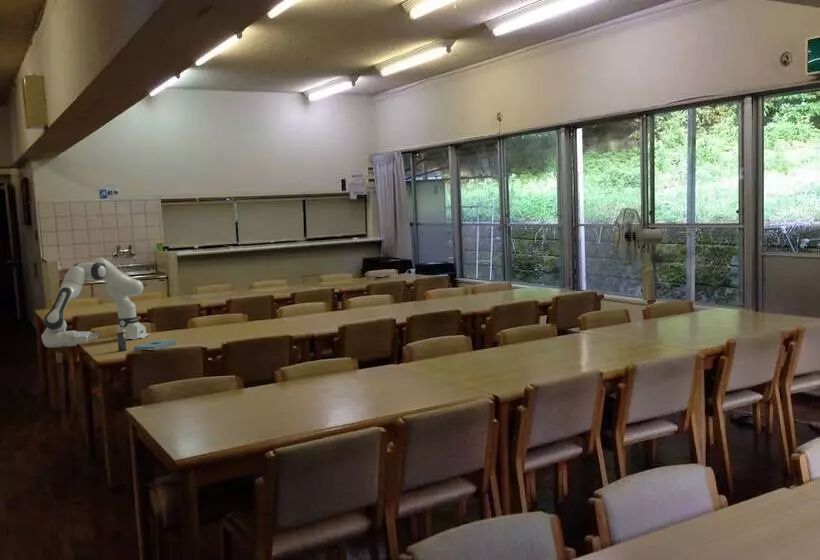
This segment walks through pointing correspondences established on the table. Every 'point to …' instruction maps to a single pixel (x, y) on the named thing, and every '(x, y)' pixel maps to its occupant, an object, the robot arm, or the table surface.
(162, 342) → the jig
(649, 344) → the table surface
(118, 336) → the dark grey cylinder
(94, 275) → the robot arm
